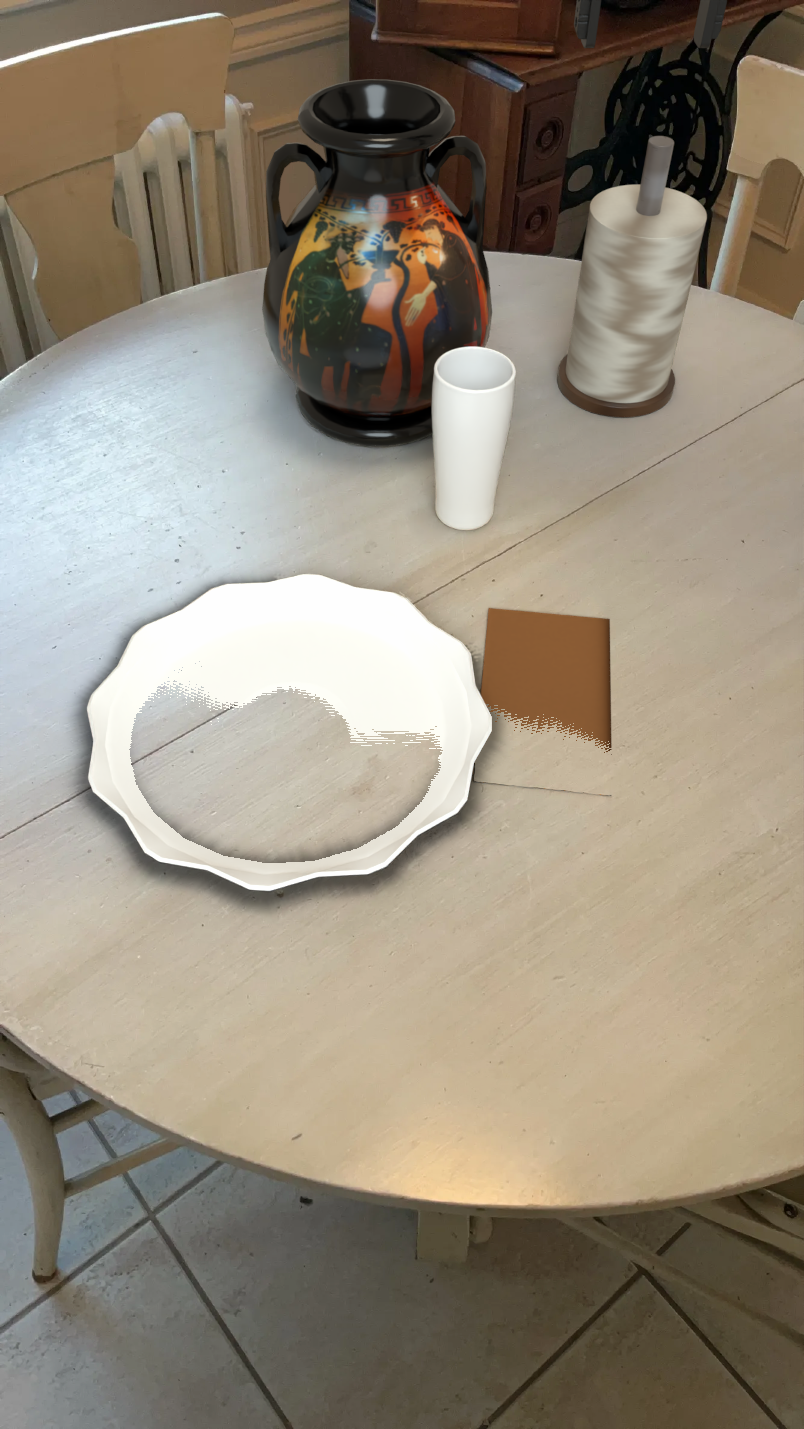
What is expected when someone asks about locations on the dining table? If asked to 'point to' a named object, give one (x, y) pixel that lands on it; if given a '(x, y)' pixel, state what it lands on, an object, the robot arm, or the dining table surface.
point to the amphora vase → (374, 261)
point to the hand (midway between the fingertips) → (644, 44)
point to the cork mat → (549, 671)
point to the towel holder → (632, 293)
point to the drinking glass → (470, 432)
